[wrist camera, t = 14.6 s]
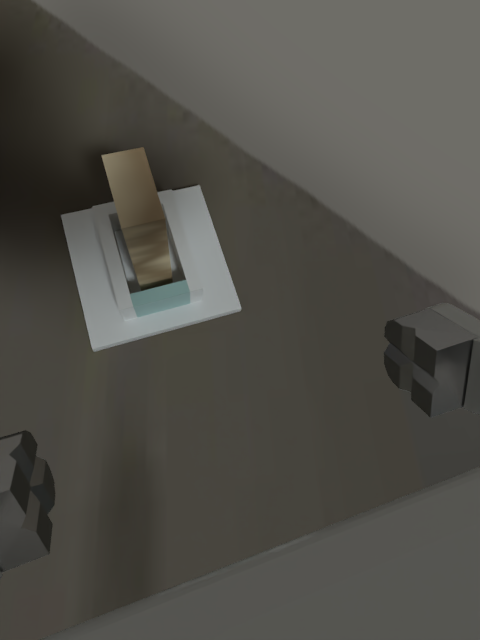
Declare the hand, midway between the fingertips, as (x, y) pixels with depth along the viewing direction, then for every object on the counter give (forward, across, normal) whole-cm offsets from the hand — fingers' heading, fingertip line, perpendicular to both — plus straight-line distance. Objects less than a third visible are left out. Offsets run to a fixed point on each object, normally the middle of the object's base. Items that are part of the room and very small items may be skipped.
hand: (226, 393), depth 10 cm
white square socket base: (+33, 0, +8) cm, 34 cm away
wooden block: (+32, 0, +8) cm, 33 cm away
